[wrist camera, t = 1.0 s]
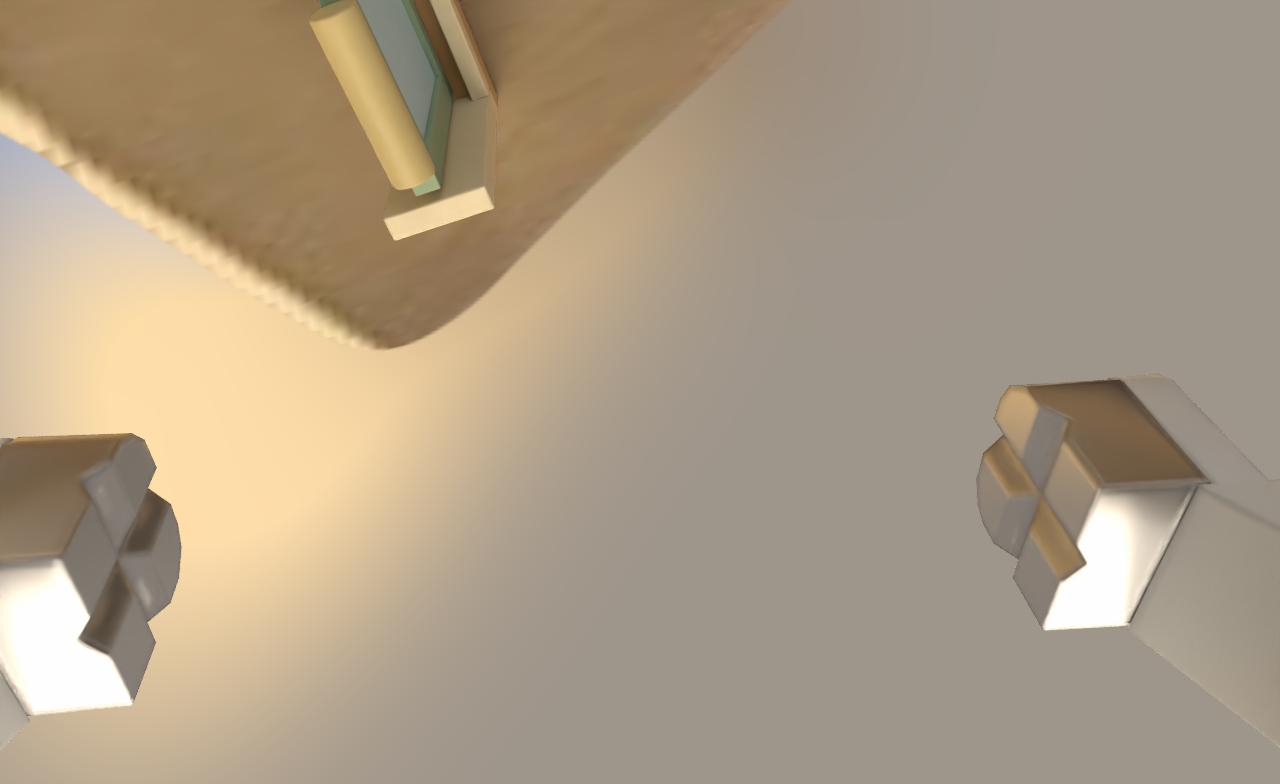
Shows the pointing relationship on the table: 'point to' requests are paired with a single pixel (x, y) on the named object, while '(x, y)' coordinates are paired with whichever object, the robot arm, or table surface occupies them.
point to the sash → (390, 84)
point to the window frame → (454, 131)
